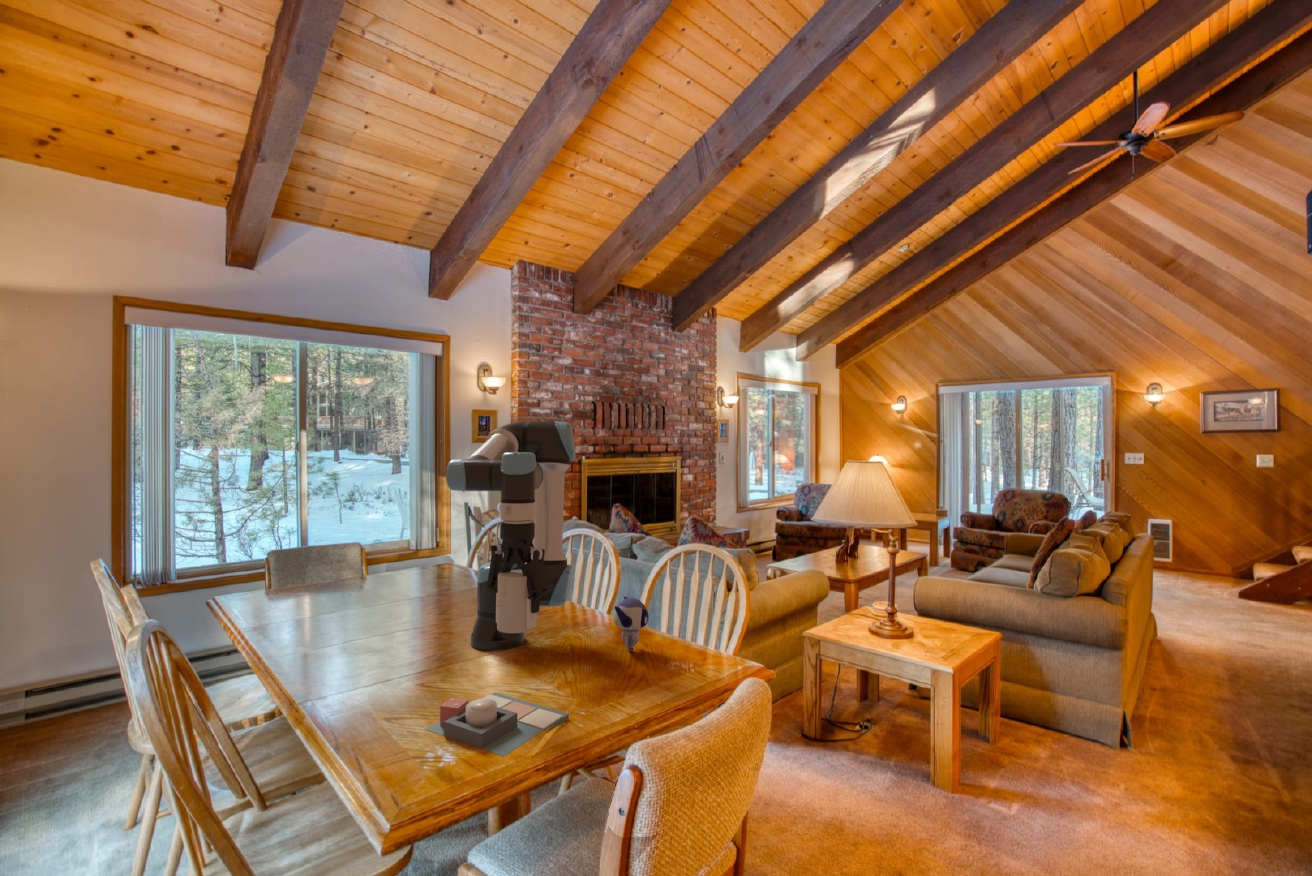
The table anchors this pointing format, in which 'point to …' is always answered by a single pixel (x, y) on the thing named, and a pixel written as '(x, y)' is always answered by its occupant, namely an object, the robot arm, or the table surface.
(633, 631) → the toy
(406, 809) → the table surface
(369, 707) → the table surface
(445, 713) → the die
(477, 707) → the dome
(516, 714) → the board
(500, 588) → the white cylinder
